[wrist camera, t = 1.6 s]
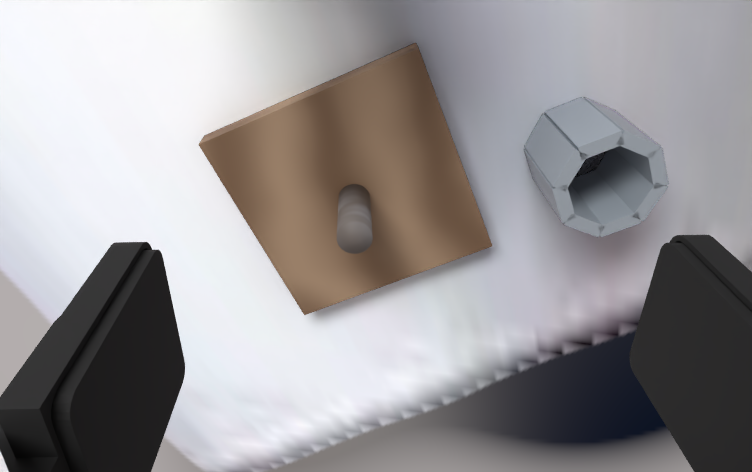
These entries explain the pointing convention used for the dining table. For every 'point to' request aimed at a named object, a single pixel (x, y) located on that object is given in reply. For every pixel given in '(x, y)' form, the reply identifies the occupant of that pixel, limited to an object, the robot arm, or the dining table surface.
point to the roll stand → (351, 182)
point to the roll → (610, 179)
